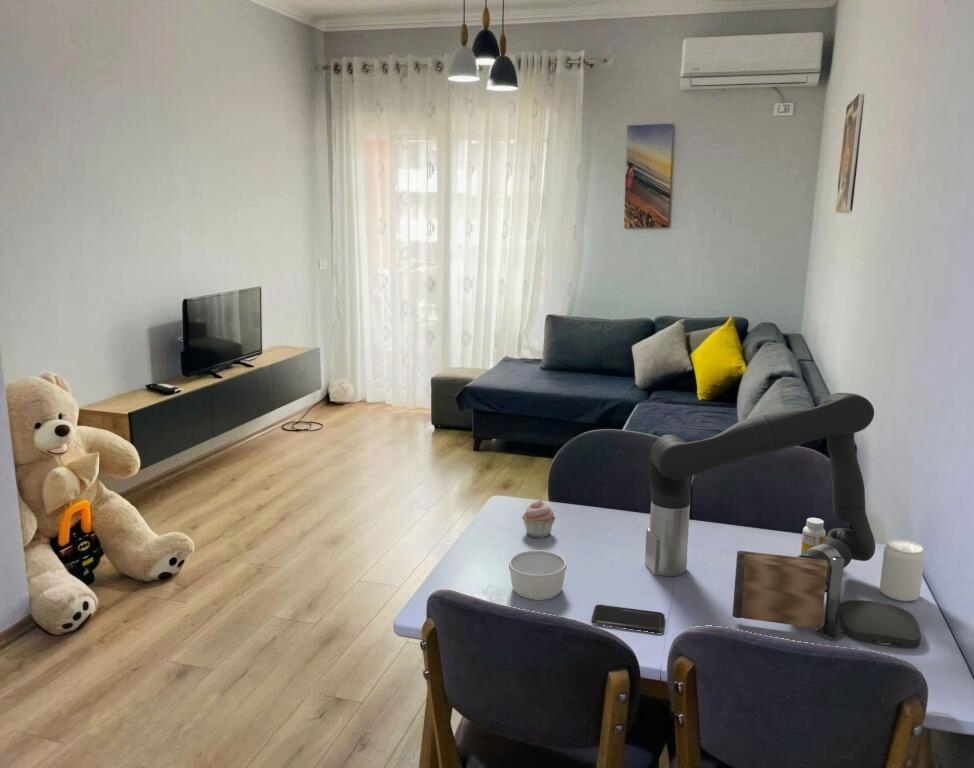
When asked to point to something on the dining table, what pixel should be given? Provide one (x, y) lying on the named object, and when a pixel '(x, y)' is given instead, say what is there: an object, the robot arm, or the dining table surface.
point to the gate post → (832, 601)
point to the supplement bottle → (812, 534)
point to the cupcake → (538, 519)
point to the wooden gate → (779, 589)
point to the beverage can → (902, 570)
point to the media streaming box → (879, 624)
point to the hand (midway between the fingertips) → (779, 590)
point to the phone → (628, 618)
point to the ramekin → (537, 574)
